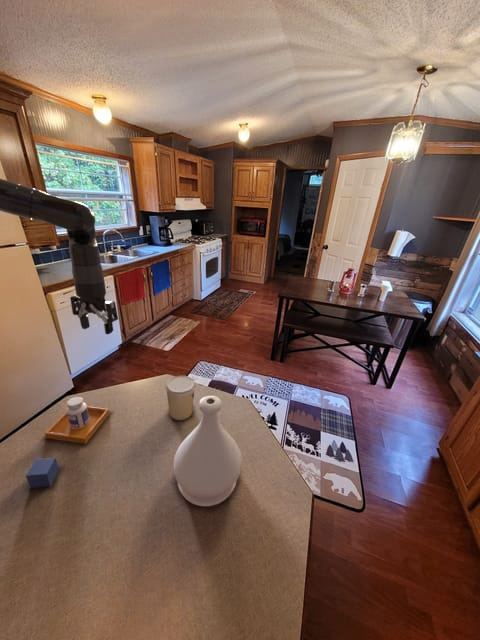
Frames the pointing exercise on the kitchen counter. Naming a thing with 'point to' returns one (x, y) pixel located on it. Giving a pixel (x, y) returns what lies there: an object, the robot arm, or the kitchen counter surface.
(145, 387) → the kitchen counter surface
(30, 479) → the blue block
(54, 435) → the amber tray
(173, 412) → the cream upright cylinder
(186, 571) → the kitchen counter surface
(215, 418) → the vase
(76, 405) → the pill bottle
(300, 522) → the kitchen counter surface
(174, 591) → the kitchen counter surface
